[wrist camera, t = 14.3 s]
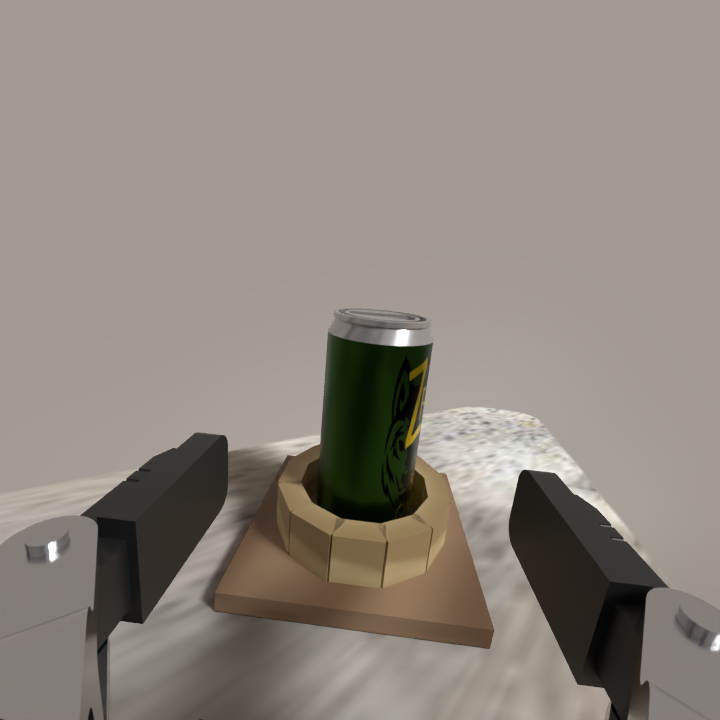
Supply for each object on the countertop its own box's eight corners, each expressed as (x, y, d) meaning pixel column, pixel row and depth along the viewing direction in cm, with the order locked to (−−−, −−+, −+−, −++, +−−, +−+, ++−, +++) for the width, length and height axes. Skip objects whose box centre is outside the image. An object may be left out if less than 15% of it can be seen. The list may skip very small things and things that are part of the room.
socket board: (214, 610, 16) (214, 543, 15) (287, 467, 27) (288, 424, 26) (489, 648, 15) (505, 581, 14) (444, 485, 27) (451, 443, 26)
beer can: (305, 546, 18) (319, 315, 15) (323, 486, 24) (337, 304, 21) (409, 561, 18) (443, 328, 15) (404, 497, 23) (430, 314, 20)
